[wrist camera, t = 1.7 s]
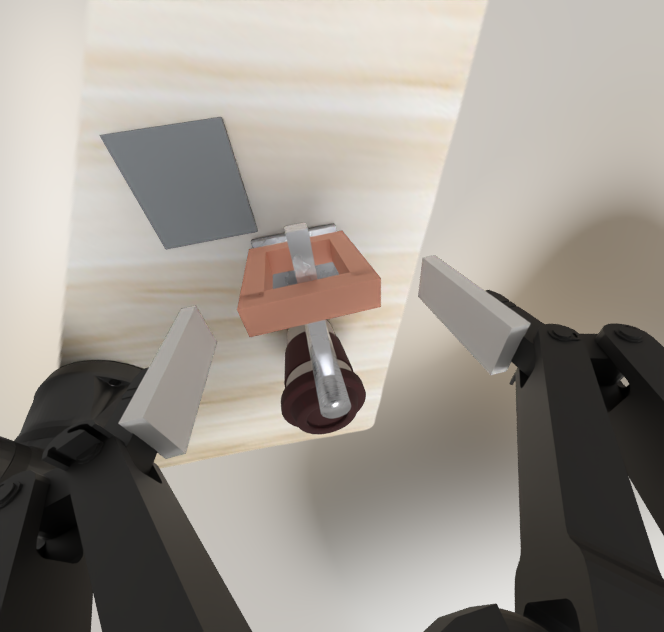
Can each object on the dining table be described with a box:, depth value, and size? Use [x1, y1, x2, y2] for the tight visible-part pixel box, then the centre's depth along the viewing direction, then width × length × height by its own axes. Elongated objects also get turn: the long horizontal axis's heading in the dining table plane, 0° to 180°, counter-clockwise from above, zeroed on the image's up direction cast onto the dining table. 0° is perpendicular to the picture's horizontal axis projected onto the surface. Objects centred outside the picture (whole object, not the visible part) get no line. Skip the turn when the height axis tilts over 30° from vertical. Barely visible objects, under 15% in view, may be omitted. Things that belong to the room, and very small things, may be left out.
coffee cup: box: [281, 320, 366, 434], centre depth 32 cm, size 10×10×15 cm
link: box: [237, 231, 381, 337], centre depth 17 cm, size 8×2×9 cm, turn 97°
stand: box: [251, 222, 351, 418], centre depth 22 cm, size 10×14×19 cm
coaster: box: [100, 117, 257, 249], centre depth 24 cm, size 10×10×1 cm
